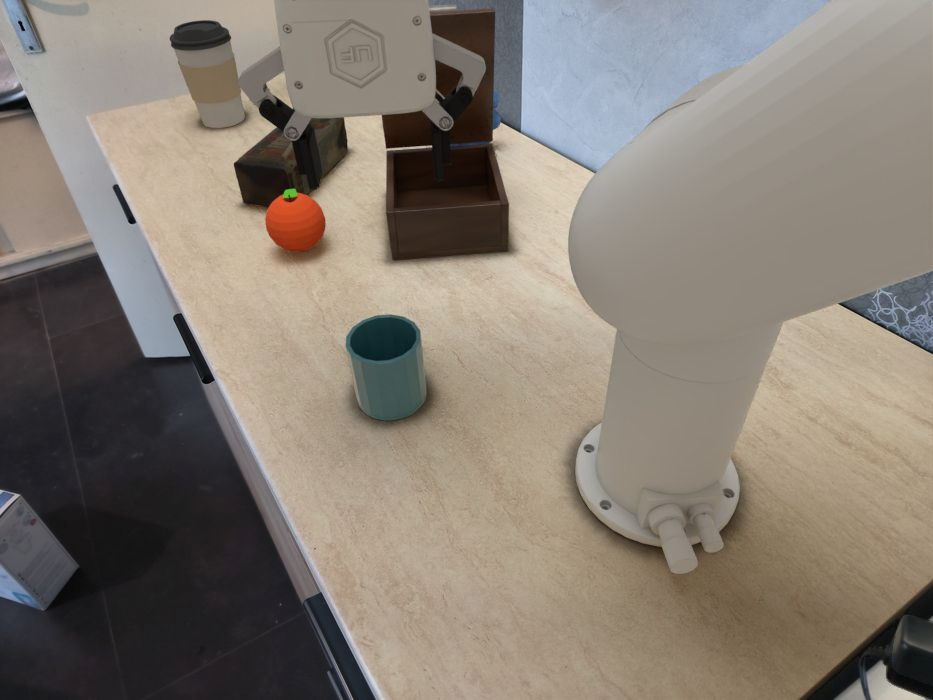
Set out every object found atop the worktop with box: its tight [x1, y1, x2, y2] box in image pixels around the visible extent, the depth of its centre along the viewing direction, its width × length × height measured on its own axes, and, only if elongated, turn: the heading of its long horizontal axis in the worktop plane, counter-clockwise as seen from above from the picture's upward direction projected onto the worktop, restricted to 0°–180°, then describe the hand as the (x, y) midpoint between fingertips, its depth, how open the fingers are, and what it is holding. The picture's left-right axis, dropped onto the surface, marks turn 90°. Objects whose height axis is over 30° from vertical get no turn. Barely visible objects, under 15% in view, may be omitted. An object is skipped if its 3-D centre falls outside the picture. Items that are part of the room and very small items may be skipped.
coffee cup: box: [169, 19, 246, 129], centre depth 104 cm, size 9×9×15 cm
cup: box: [345, 313, 428, 422], centre depth 58 cm, size 6×6×7 cm
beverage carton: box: [233, 117, 349, 208], centre depth 91 cm, size 8×19×7 cm, turn 164°
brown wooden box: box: [385, 142, 510, 261], centre depth 81 cm, size 16×14×6 cm
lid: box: [381, 3, 496, 150], centre depth 79 cm, size 17×14×6 cm
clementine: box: [264, 189, 327, 253], centre depth 77 cm, size 8×7×7 cm
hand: (377, 177), depth 51 cm, fingers open, 9 cm apart
